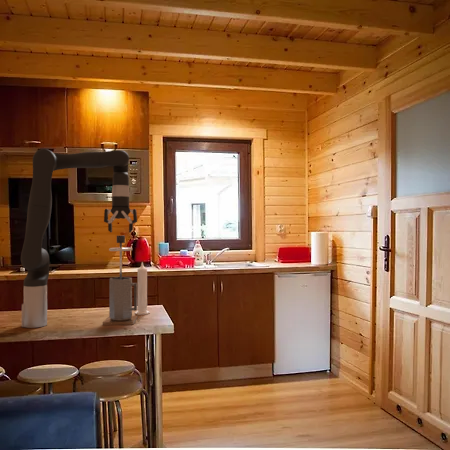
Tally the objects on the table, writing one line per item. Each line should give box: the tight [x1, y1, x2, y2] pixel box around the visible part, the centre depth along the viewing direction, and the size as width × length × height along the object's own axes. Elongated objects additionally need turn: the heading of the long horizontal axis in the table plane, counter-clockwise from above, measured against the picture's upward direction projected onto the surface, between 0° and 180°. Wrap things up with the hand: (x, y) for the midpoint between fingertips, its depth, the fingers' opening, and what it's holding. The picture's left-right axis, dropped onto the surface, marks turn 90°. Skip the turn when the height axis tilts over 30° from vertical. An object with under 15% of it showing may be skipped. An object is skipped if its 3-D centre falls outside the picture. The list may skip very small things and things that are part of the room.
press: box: [102, 276, 139, 326], centre depth 194 cm, size 14×13×19 cm
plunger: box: [108, 235, 133, 279], centre depth 194 cm, size 10×10×24 cm
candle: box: [134, 261, 151, 316], centre depth 212 cm, size 7×7×25 cm
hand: (120, 232), depth 194 cm, fingers open, 8 cm apart
